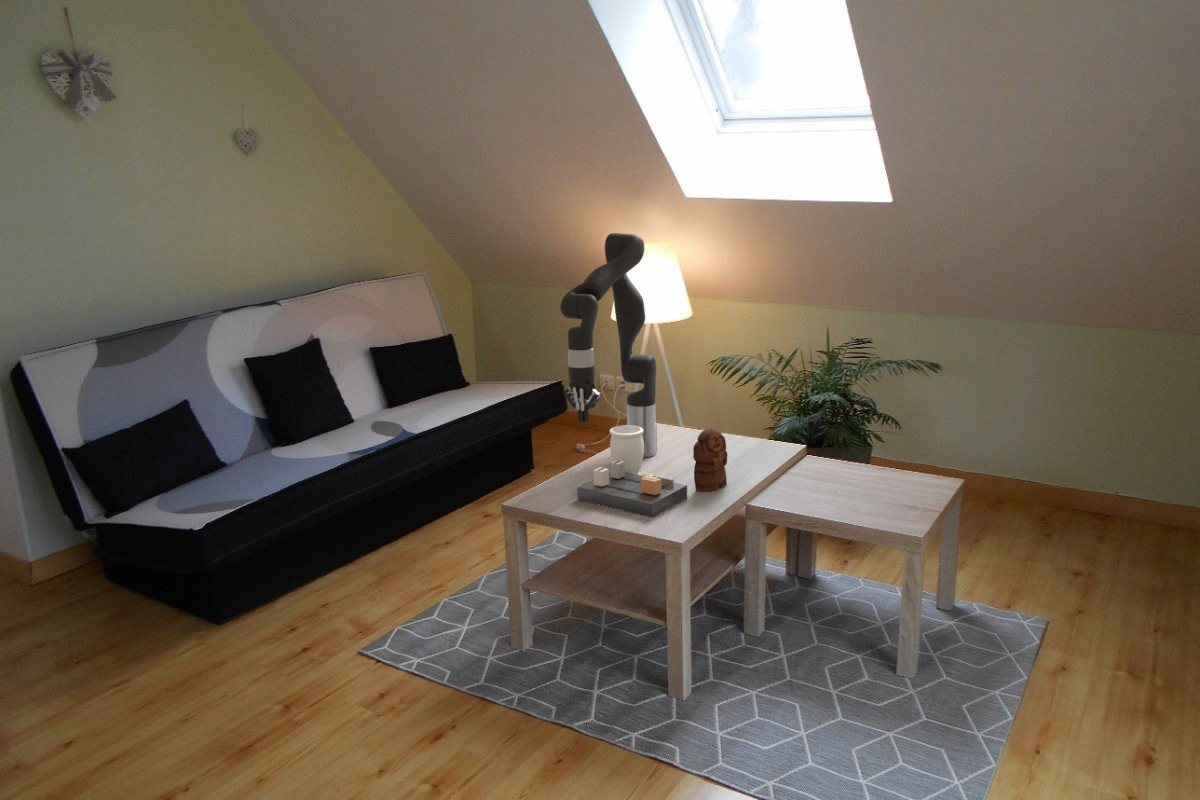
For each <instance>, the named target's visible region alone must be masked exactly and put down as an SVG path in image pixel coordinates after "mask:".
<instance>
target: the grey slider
mask: <svg viewBox="0 0 1200 800" xmlns="http://www.w3.org/2000/svg"><path fill="white" fill-rule="evenodd" d="M609 472H610V477H613V478H617V479H620V478H622V477H624V476H625V462H624V461H620V460H615V461H613V462H612V461H611V462H609Z"/></svg>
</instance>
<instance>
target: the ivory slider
mask: <svg viewBox="0 0 1200 800" xmlns="http://www.w3.org/2000/svg"><path fill="white" fill-rule="evenodd" d="M609 472H610V468H606V467H602V466H601V467H600V466H599V467H597V468H595V469H593V471H592V473H593V474H592V475H593V479H594V485H598V486H602V487H603V486H605V485H607V484H609Z"/></svg>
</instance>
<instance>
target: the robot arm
mask: <svg viewBox="0 0 1200 800" xmlns="http://www.w3.org/2000/svg"><path fill="white" fill-rule="evenodd" d="M604 254H605V261H606V263H605V264H602V265H600V266H598V267H597V268H595V269H594V270H593V271H591V273H590V274H588V276H587V277H586V278H585V279H584V281H583V282H582V283H579V284H578V285H576V286H575V287H574V288H572V289H570V290H568V292H566V293H565V295H564V296H563V297H562V299H561V302H560V307H559V308H560V312H561V314H562V315H563V316H564V317H565V318H566V319H572V320H573V319H574V320H575V319H577V320H581V323H580V324H579V326H574V327H570V328H569V329H568V332H567V342H568V343H567V344H568V350H567V351H568V352H567V369H568V371H567V373H568V380H569V383H568V386H567V388H564V389H562V393H563V394H564V396H565V398H566V400H567V401H568V403H569V404H570V406H571V407H572V408H575V409H576V410H577V421H578V422H579V423H581V424H586V423H587V422H588V421H589V410H591V409H593V408H595V406H596V404H597V403H599V400H600V399H601V397H603V393H602V392H599V391H597V389H596V384H595V378H596V373H595V372H596V371H595V369H596V368H595V353H594V352H595V351H594V337H593V336H594V335H593V334H594V330H595V324H596V320H597V316H598V311H599V304H598V302H599V301H601V300H602V299H603V297H604V296H605V295H606V294H607V292H608V291H609V290H610V288H612V289H611V290H612V296H613V305H614V306H613V307H614V312H615V313H614V314H615V320H616V324H617V325H616V327H617V333H618V339H619V341H618V342H619V354H620V370H621V376H622V379H623V381H624V382H625V383H628V384H629V383H630V384H643V388H641V389H639V390H635V391H633V392H630V393H628V394H627V396H626V412H627V414H626V415H627V418H626V419H627V421H626V422H627V425H633V426H639V427H641V428H643V434H642V437H643V443H644V454H643V458H649V457H653V456H655V455H656V454H657V452H658V425H657V423H656V420H657V419H656V391H657V389H656V383H657V381H656V380H657V362H656V359H655V357H654V356H653V355H651V354H634V353H633V345H634V343H635V340H636V338H637V336H638V335H639V334H640V332H641V330H642V328H643V326H644V325H645V322H646V309H645V303H644V299H643V296H642V295H641V293H640V291H639V290H638V288H637V287H636V285H634V283H633V282H632V281H631V279H630V278H629V276H628V273H629V271H631V270H632V269H633V268H635V267H636V266H637V265H638V264H639V263H640V262H641V261H642V259H643V257H644V254H645V243H644V240H643V238H642V237H641V236H640V235H637V234H634V233H624V232H623V233H622V232H620V233H619V232H611V233H609V234H608V235H607V236H606V238H605V241H604Z"/></svg>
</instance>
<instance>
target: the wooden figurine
mask: <svg viewBox="0 0 1200 800" xmlns="http://www.w3.org/2000/svg"><path fill="white" fill-rule="evenodd" d="M692 449H693V452H692V453H693V456H692V458H693V460H694V461H695V464H694V466H693V467H694V469H693V478H694V479H693V480H694V481H693V482H694V485H695V491H696V492H702V493H711V492H712V493H713V492H716V491H719V490H720V489H722V488H724V485H727V484H728V483H727V471H726V467H725V466H726V465H727V463H728V452H727V443H726V438H725V436H724V435H723V434H722V432H721V431H720V430H718V429H717V428H712V427H711V428H706V429H703V431H701V432H700V434H699V435H698V437H697V441H696V442H695V443H694V446H693V448H692Z"/></svg>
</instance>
